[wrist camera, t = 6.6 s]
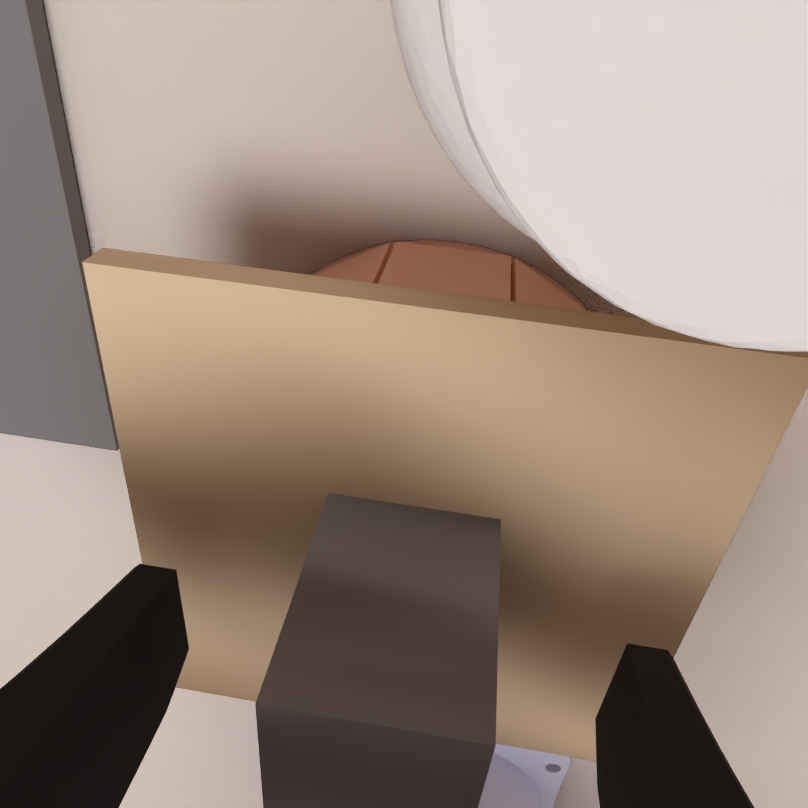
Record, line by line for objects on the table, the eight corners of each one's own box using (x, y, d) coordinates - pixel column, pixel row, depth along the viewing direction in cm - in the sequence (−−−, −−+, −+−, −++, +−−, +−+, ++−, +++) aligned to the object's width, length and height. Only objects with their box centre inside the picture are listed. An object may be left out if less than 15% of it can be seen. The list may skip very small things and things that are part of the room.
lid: (616, 740, 15) (649, 993, 12) (177, 663, 16) (74, 879, 12) (804, 339, 10) (995, 586, 6) (103, 248, 10) (-138, 415, 7)
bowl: (577, 577, 18) (592, 713, 15) (258, 527, 19) (204, 647, 16) (679, 269, 13) (733, 371, 10) (239, 214, 14) (154, 293, 11)
